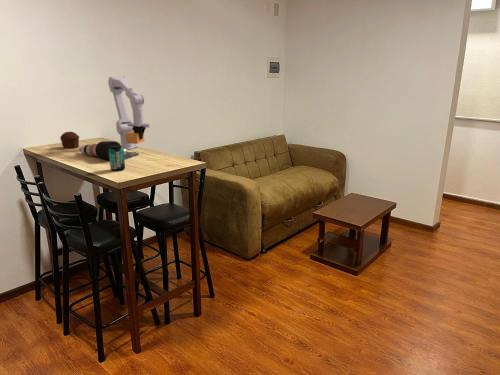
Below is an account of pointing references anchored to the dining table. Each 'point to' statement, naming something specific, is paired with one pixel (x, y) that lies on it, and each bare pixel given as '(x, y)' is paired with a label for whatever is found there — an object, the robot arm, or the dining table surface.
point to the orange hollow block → (133, 138)
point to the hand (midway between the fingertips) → (139, 139)
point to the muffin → (70, 140)
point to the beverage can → (116, 158)
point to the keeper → (129, 154)
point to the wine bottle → (98, 149)
